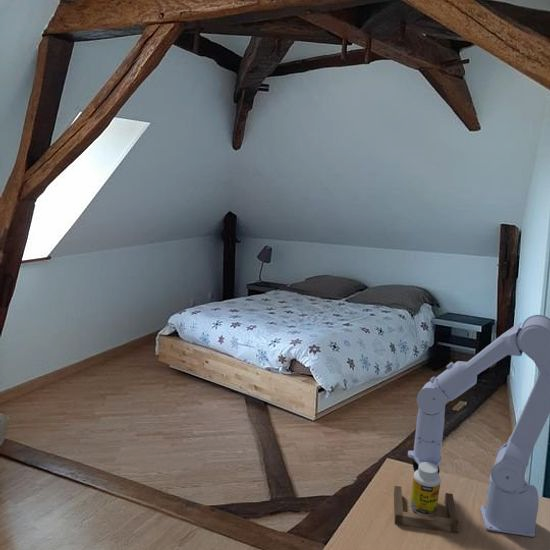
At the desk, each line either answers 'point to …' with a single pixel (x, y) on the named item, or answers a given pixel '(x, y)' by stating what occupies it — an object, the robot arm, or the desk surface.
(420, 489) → the supplement bottle
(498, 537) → the desk surface
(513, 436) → the robot arm
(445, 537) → the desk surface
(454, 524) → the wooden u-shaped block
